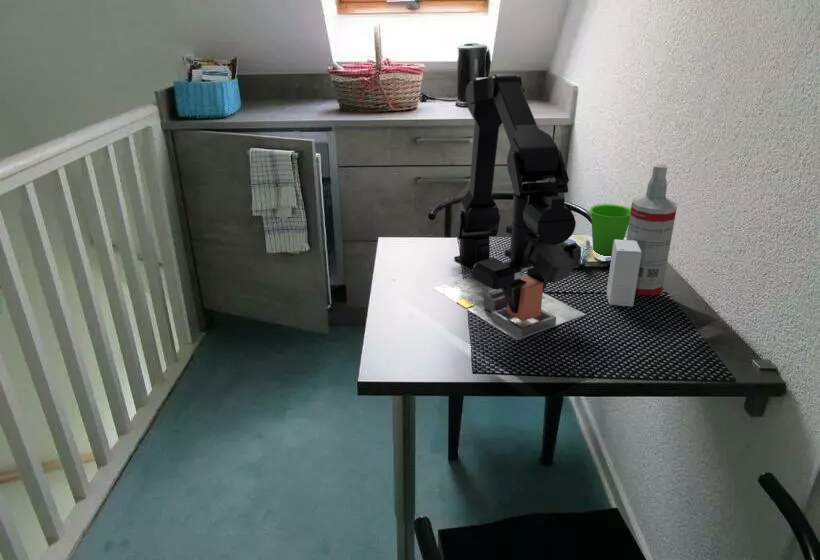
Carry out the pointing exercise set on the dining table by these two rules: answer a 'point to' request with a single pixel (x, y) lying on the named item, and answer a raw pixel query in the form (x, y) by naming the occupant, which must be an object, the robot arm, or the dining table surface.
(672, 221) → the spray bottle
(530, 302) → the orange-red rectangular block
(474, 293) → the panel
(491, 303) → the toggle
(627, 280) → the skincare box
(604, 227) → the cup
